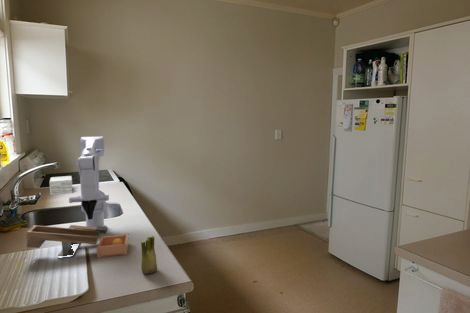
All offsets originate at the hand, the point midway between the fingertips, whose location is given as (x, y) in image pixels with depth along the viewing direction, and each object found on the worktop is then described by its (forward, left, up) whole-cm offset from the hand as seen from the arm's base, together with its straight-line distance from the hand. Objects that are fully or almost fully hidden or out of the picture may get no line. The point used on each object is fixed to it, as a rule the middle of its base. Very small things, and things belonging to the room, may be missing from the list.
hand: (90, 218), depth 129 cm
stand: (+4, -7, -10) cm, 13 cm away
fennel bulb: (+30, +23, -11) cm, 40 cm away
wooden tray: (+5, -7, -7) cm, 11 cm away
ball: (+9, +11, -8) cm, 16 cm away
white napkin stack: (-100, -36, -11) cm, 107 cm away
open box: (+9, +9, -10) cm, 17 cm away
